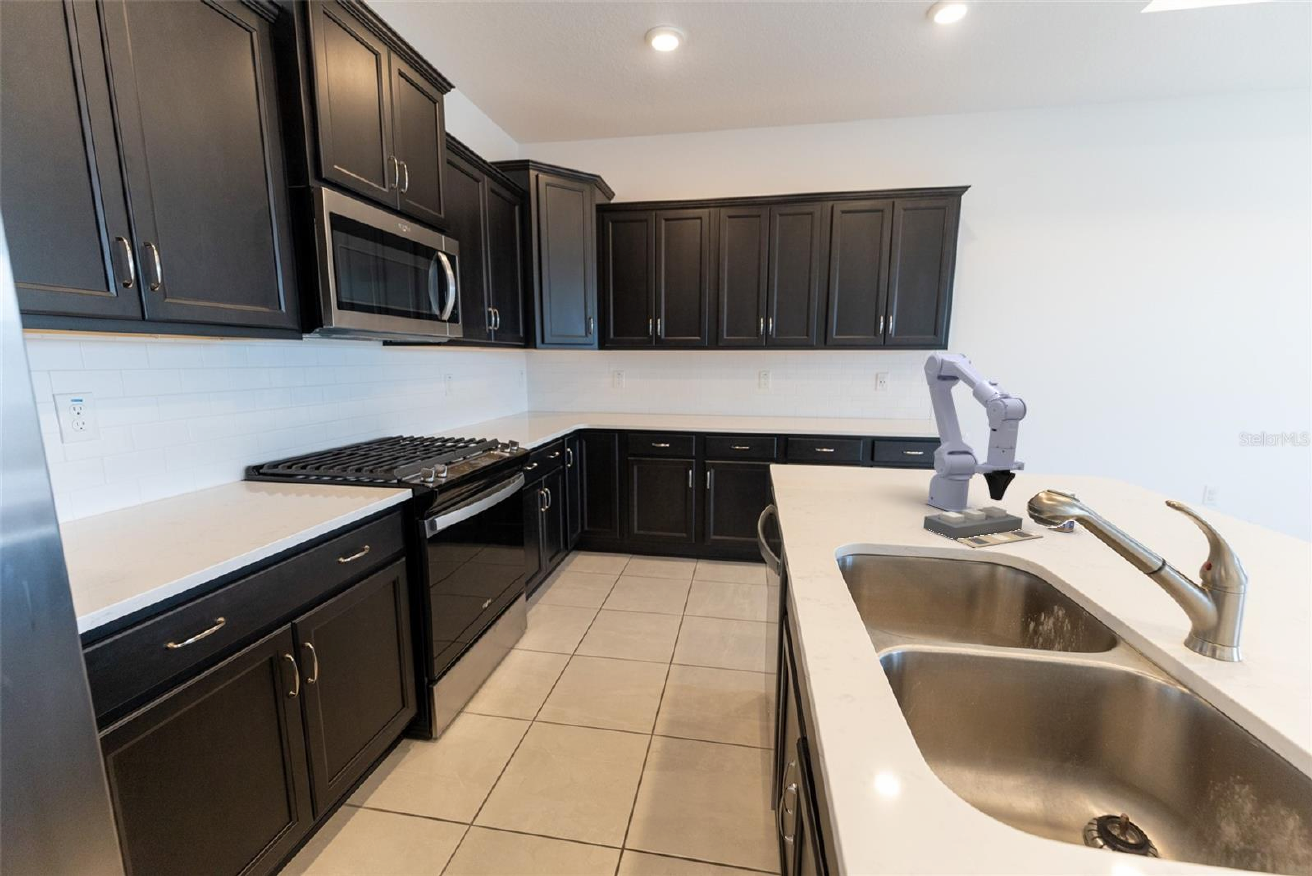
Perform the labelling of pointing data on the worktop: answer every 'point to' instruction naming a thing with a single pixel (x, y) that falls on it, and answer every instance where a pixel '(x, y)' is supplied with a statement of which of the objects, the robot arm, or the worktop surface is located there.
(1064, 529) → the pill bottle
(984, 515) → the button middle
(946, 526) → the button board
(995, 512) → the button end far
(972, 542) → the pattern card
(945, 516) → the button end near
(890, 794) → the worktop surface
